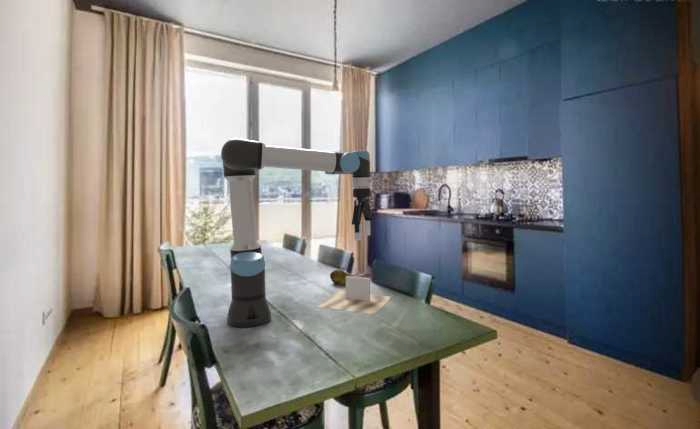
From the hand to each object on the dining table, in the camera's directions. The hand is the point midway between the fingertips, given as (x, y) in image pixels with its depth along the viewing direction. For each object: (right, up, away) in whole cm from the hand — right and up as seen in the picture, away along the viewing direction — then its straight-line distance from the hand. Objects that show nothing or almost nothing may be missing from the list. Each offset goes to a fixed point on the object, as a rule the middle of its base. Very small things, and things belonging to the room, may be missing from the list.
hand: (362, 237), depth 153 cm
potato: (-8, -25, +16) cm, 30 cm away
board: (-3, -26, -10) cm, 28 cm away
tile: (-2, -25, -7) cm, 26 cm away
